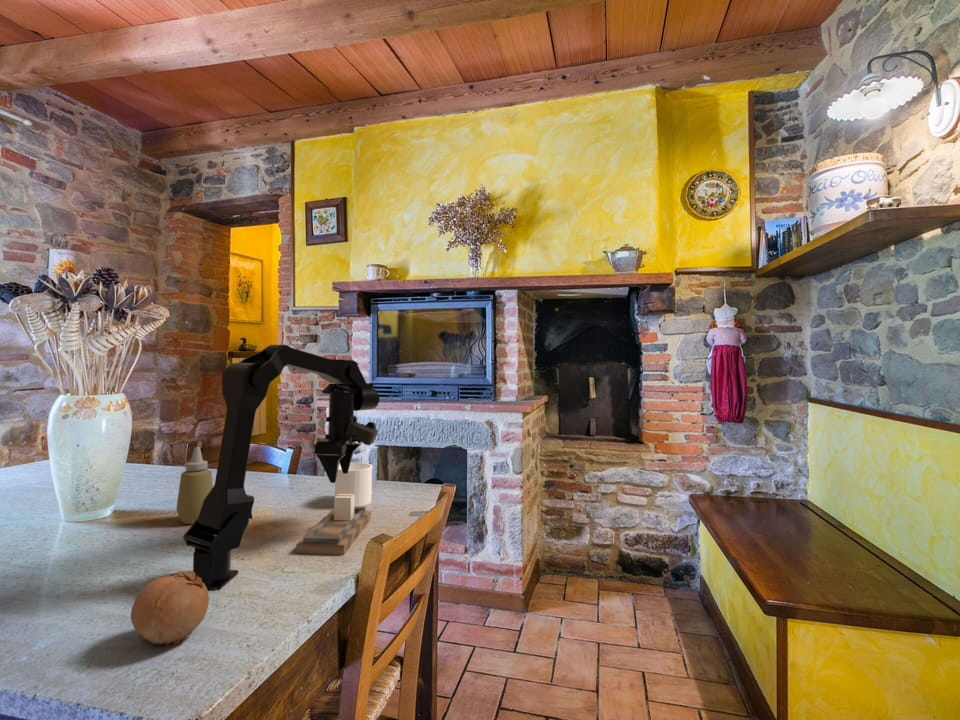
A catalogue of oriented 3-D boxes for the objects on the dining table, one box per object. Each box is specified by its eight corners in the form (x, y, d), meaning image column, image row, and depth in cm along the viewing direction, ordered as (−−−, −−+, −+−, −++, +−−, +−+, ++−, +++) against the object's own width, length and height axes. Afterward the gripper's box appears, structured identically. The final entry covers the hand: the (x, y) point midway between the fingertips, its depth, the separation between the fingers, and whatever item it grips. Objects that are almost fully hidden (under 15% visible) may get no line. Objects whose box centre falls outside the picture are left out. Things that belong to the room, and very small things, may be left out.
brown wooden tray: (344, 554, 98) (344, 539, 98) (296, 553, 99) (296, 537, 99) (371, 519, 120) (371, 506, 120) (331, 517, 121) (332, 505, 121)
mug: (376, 505, 132) (377, 468, 132) (340, 510, 127) (341, 472, 127) (361, 493, 143) (362, 459, 143) (327, 498, 137) (328, 462, 137)
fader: (350, 520, 113) (351, 497, 113) (333, 520, 113) (334, 496, 113) (354, 516, 116) (354, 493, 116) (337, 515, 116) (338, 493, 116)
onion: (197, 644, 72) (231, 577, 75) (168, 666, 63) (208, 588, 66) (137, 622, 72) (174, 555, 75) (99, 640, 63) (143, 563, 66)
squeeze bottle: (168, 522, 115) (170, 448, 115) (201, 513, 122) (203, 443, 122) (188, 528, 111) (190, 451, 111) (221, 519, 118) (223, 446, 118)
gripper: (364, 417, 104) (362, 489, 104) (383, 409, 122) (382, 470, 122) (314, 416, 104) (311, 487, 104) (341, 408, 123) (339, 468, 122)
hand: (339, 477), depth 113 cm, fingers open, 9 cm apart
